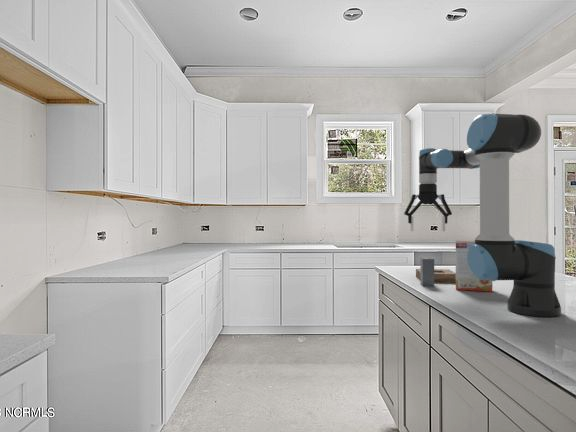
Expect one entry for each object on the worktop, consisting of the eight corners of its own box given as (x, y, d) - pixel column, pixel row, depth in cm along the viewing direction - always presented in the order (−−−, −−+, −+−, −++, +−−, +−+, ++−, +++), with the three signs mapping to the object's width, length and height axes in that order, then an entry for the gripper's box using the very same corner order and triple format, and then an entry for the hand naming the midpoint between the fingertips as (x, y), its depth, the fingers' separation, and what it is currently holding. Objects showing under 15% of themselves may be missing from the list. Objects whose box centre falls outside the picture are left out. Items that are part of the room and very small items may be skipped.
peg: (434, 286, 179) (434, 259, 178) (422, 285, 179) (422, 258, 179) (431, 284, 184) (431, 257, 183) (420, 283, 184) (420, 257, 184)
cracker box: (491, 289, 170) (491, 240, 170) (492, 292, 165) (492, 241, 164) (455, 287, 176) (455, 239, 175) (455, 289, 170) (455, 240, 170)
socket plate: (457, 283, 186) (457, 274, 186) (421, 282, 188) (421, 273, 188) (448, 277, 202) (448, 269, 202) (415, 276, 204) (415, 268, 204)
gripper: (454, 183, 183) (454, 230, 183) (398, 184, 186) (397, 230, 187) (459, 182, 175) (459, 231, 176) (400, 183, 179) (400, 231, 179)
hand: (427, 231), depth 181 cm, fingers open, 13 cm apart
